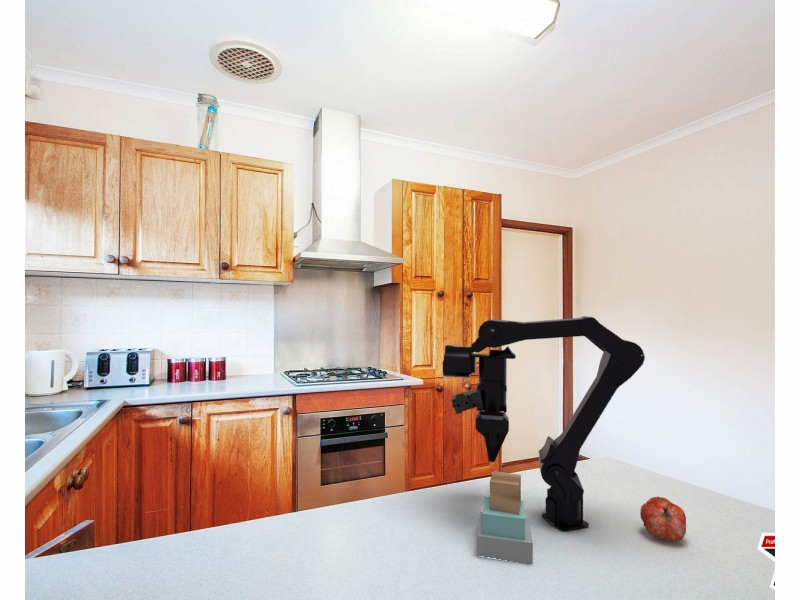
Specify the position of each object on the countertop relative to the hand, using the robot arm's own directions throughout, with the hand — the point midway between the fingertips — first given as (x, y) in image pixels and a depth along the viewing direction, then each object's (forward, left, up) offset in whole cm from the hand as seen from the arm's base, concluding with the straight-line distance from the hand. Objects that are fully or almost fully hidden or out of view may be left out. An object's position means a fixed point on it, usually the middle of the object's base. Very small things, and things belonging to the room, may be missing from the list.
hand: (491, 453), depth 88 cm
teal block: (+5, +12, -8) cm, 16 cm away
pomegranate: (-26, +18, -12) cm, 34 cm away
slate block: (+5, +12, -12) cm, 18 cm away
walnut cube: (+4, +12, -5) cm, 14 cm away
